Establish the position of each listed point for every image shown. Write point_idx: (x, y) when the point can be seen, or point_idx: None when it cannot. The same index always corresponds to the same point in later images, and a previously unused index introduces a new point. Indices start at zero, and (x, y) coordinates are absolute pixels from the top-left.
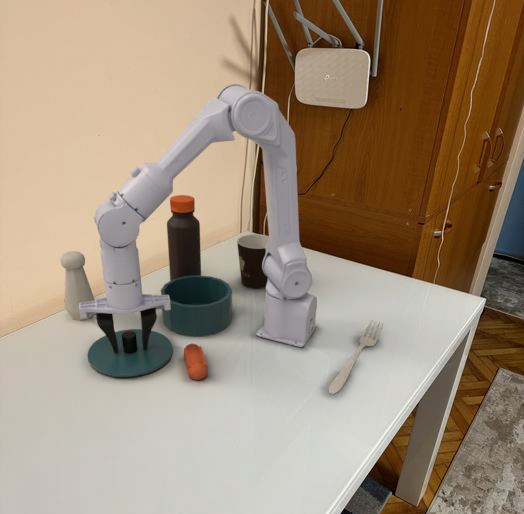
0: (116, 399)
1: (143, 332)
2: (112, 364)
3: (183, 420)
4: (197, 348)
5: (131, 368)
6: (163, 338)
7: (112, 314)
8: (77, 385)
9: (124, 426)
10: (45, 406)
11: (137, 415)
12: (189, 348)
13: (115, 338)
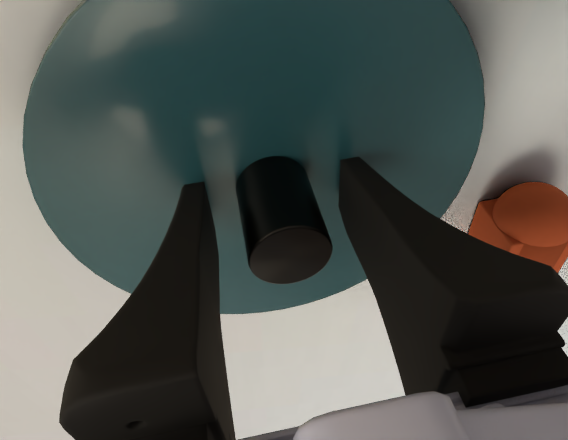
0: (229, 352)
1: (382, 313)
2: None
3: (383, 378)
4: (559, 256)
5: (276, 289)
6: (462, 86)
7: (203, 342)
8: (80, 321)
9: (257, 400)
10: (19, 386)
11: (286, 380)
12: (531, 259)
13: (215, 291)
